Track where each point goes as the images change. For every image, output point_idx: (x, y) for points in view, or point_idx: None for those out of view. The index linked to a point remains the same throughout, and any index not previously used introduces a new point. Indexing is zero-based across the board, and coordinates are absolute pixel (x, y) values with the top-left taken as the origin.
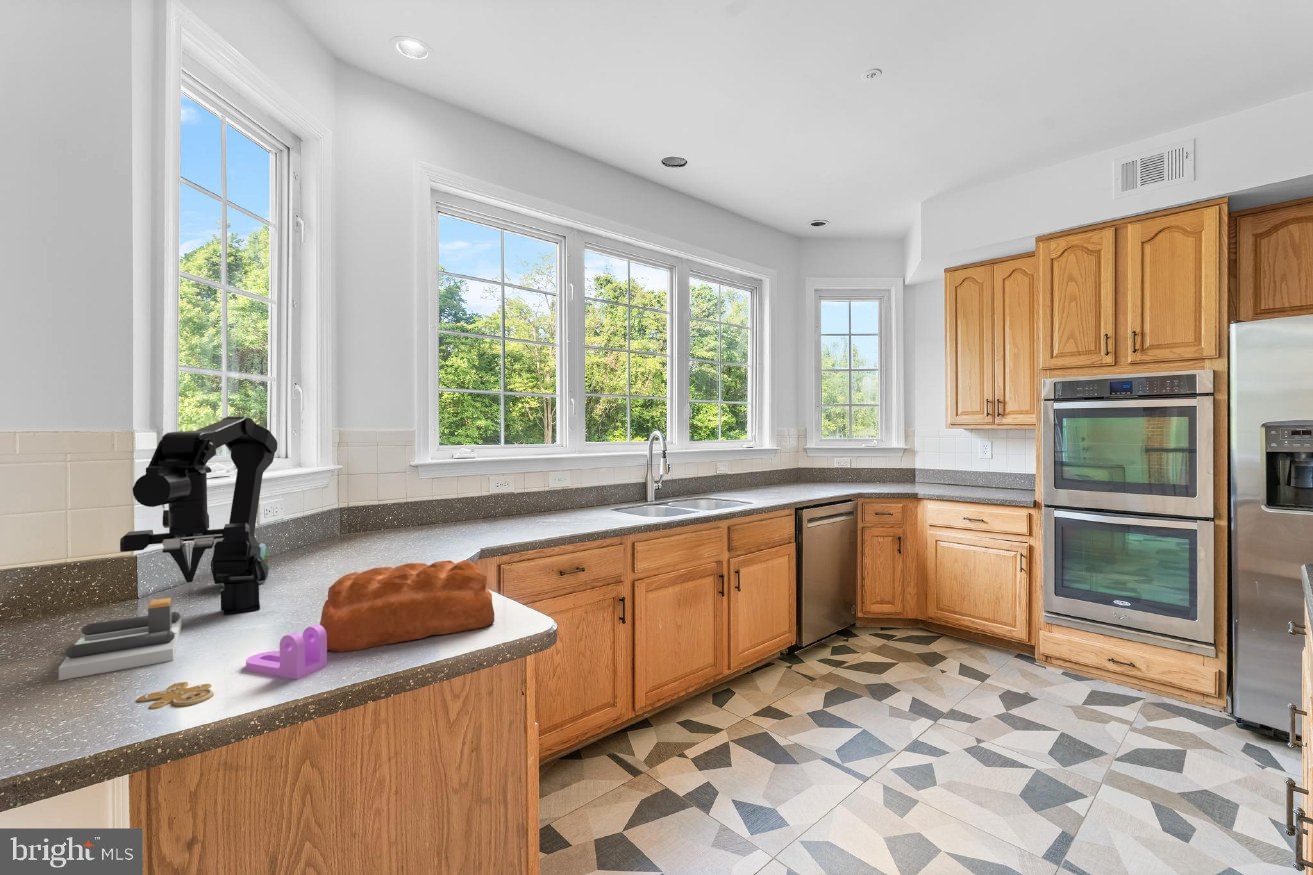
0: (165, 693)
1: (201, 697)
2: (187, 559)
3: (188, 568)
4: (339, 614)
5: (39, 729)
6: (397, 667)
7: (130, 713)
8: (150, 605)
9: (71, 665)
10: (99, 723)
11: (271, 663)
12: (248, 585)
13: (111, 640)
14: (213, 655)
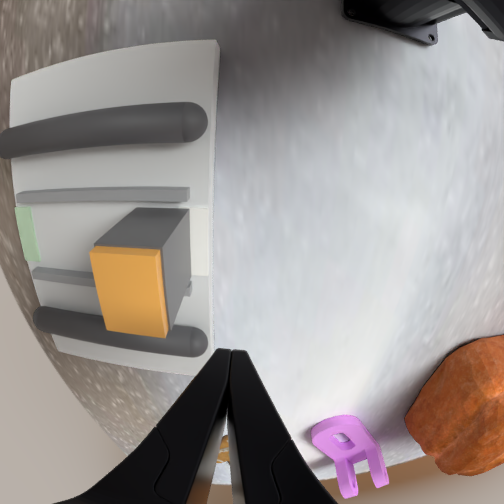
0: (220, 452)
1: None
2: (199, 473)
3: (217, 434)
4: (433, 455)
5: (128, 443)
6: (412, 456)
7: None
8: (111, 329)
9: (70, 353)
10: None
11: (333, 450)
12: (455, 7)
13: (89, 341)
14: (282, 372)
